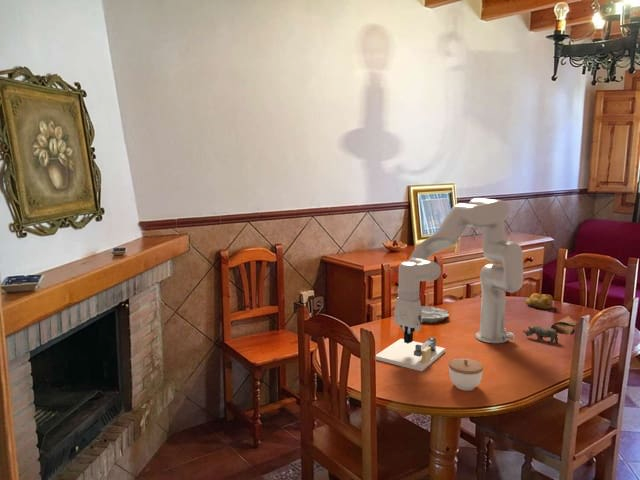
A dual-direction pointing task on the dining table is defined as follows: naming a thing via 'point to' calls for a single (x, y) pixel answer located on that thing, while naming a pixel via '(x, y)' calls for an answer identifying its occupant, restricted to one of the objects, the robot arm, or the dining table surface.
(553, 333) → the rhino figurine
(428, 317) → the brain slice
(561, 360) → the dining table surface
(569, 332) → the sunglasses case
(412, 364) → the door board
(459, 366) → the lidded jar
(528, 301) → the bread roll
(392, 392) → the dining table surface
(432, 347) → the bar
